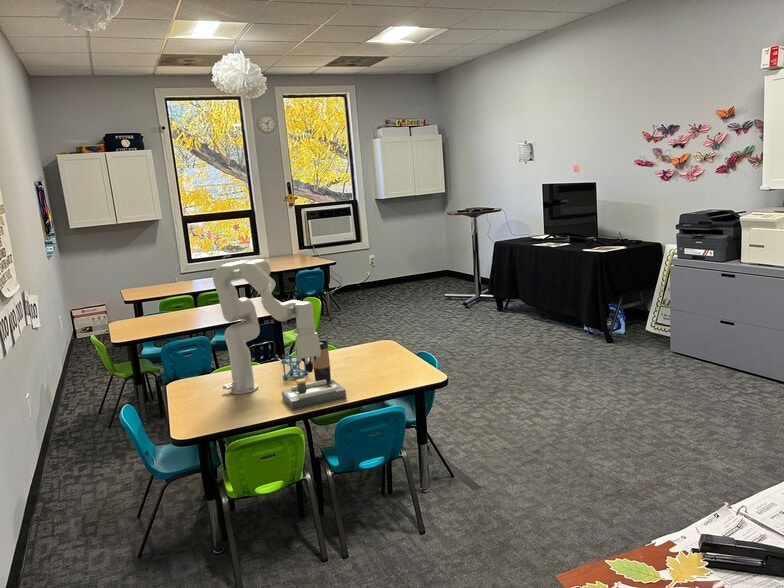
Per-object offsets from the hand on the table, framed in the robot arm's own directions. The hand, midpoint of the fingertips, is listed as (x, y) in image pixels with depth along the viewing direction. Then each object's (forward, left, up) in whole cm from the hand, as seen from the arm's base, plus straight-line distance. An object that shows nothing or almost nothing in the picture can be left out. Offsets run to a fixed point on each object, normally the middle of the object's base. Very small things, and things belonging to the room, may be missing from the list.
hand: (309, 371), depth 255 cm
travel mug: (+11, +17, -13) cm, 24 cm away
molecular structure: (+3, +36, -13) cm, 38 cm away
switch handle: (-4, 0, -8) cm, 9 cm away
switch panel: (+1, 0, -13) cm, 13 cm away
